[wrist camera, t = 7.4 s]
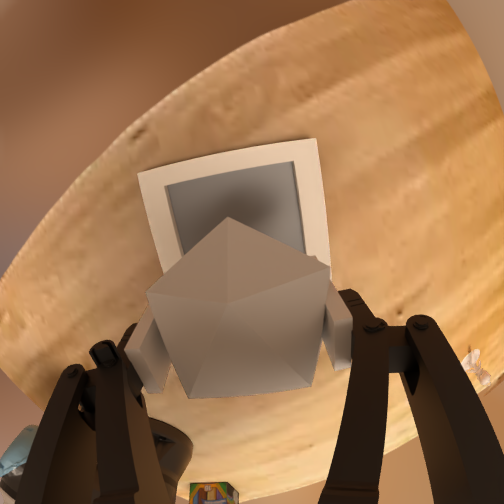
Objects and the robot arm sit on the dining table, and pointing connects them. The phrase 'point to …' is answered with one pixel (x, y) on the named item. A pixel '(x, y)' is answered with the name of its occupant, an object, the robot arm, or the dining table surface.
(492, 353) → the dining table surface
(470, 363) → the toy figurine
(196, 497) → the chalk box
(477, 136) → the dining table surface
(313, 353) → the die
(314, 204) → the pocket plate
